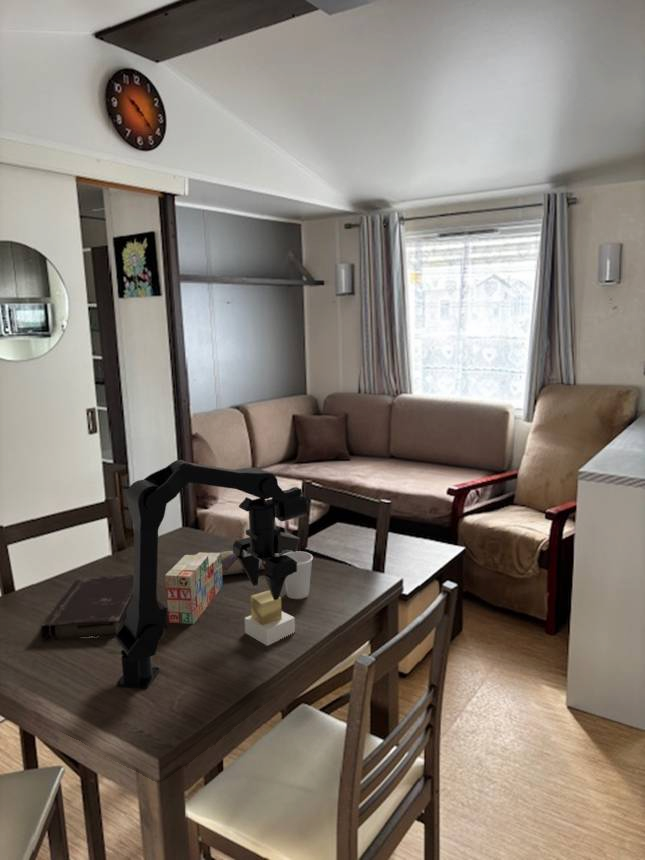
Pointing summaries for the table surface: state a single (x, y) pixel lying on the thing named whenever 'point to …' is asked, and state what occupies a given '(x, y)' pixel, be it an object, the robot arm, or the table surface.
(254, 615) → the mustard cube
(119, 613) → the diary
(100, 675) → the table surface
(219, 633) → the table surface
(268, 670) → the table surface
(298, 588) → the dixie cup
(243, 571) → the decorative bottle
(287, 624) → the ivory block
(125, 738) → the table surface
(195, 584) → the stack of blocks
